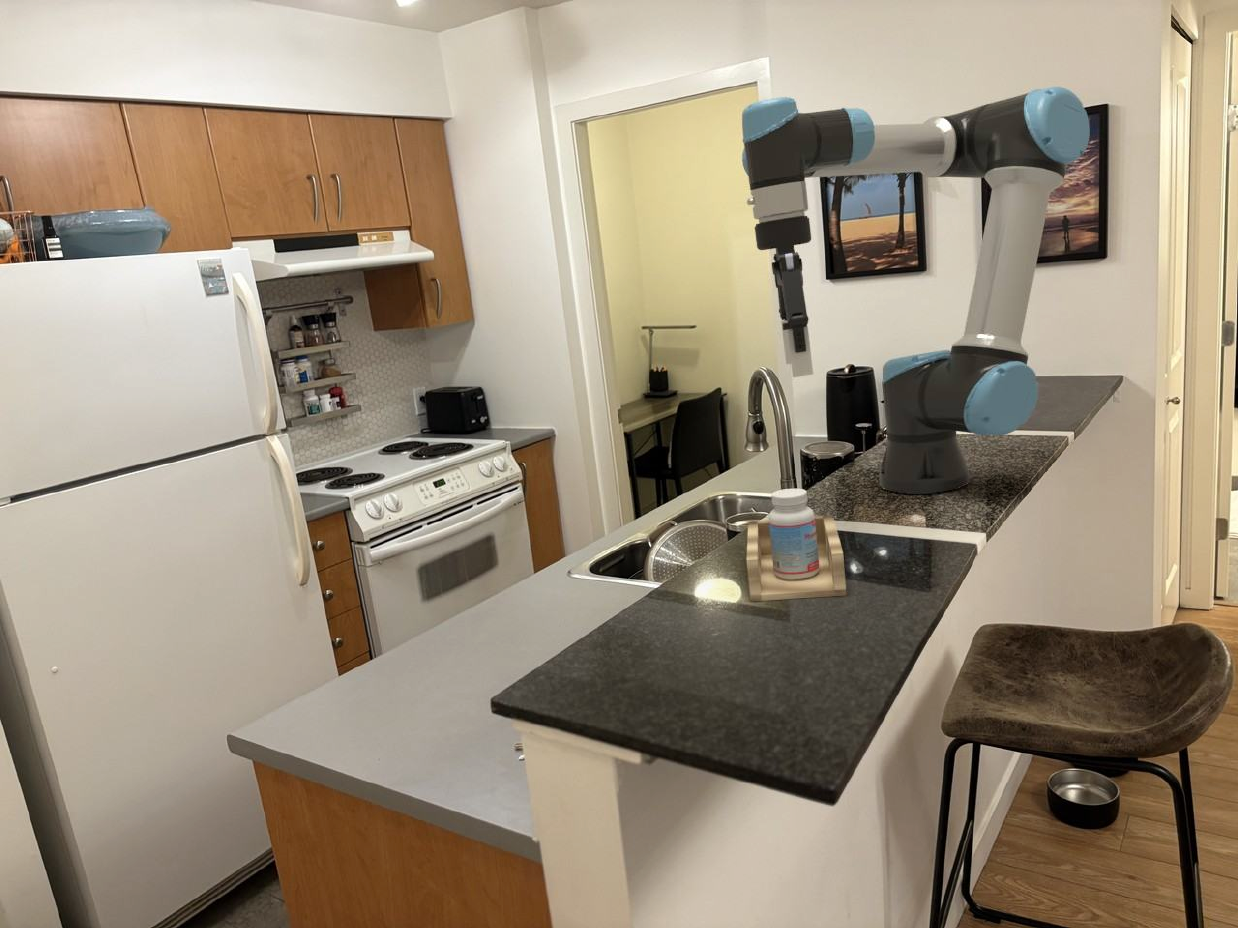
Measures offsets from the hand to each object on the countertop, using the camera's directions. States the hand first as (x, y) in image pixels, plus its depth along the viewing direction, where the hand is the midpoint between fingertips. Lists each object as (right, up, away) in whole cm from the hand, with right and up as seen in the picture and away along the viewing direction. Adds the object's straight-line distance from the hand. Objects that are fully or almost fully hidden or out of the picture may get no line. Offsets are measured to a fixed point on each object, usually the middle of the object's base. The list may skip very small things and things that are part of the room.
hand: (799, 369), depth 132 cm
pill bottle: (-2, -29, -9) cm, 30 cm away
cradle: (-2, -29, -7) cm, 30 cm away
